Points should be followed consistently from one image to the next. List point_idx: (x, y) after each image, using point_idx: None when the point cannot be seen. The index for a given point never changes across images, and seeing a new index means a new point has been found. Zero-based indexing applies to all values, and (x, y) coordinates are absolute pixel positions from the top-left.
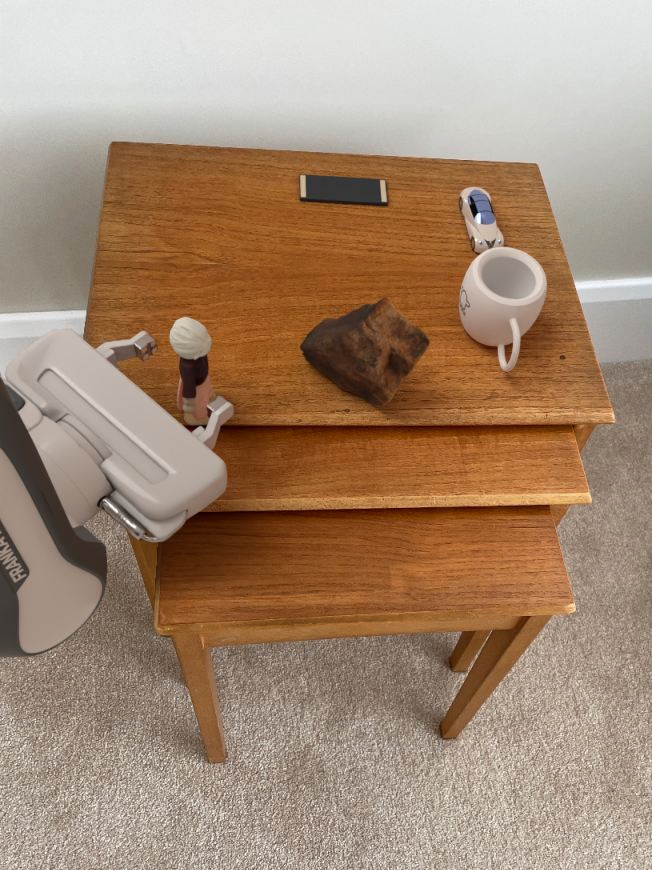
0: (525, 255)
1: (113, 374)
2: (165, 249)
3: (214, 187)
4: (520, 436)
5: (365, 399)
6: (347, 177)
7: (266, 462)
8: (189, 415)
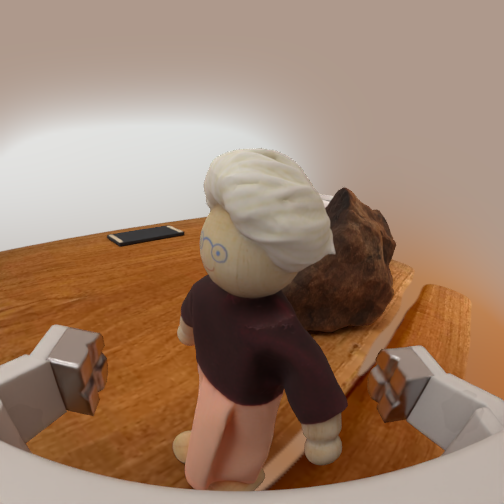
0: (327, 195)
1: (53, 495)
2: (18, 304)
3: (43, 257)
4: (426, 292)
5: (357, 325)
6: (143, 229)
7: (389, 448)
8: (231, 488)
